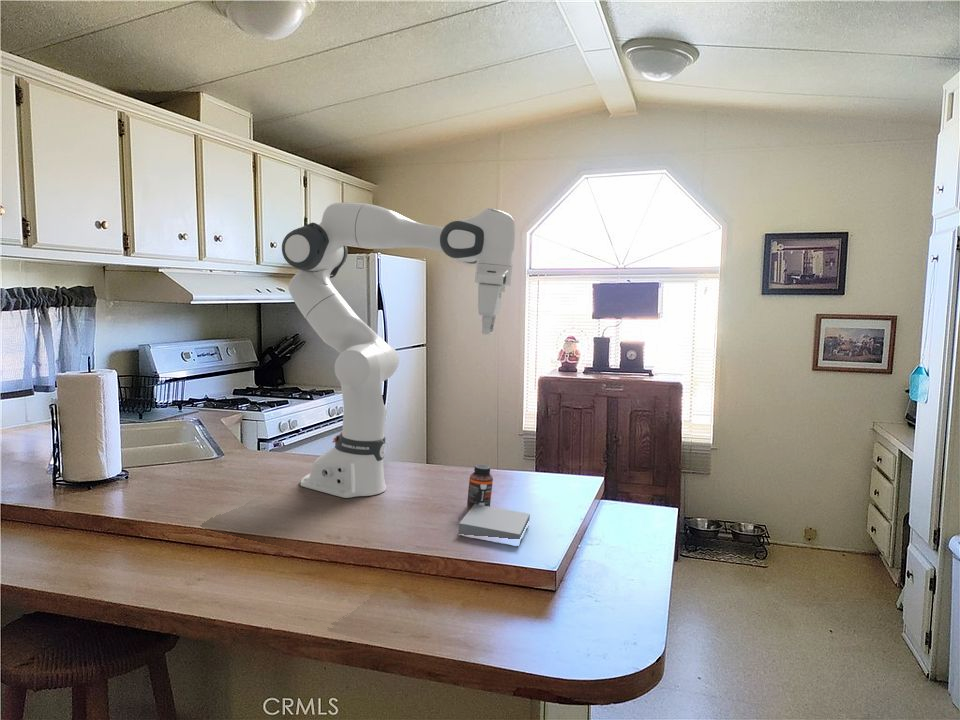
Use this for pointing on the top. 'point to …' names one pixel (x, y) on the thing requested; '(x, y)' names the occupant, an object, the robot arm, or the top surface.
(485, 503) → the supplement bottle
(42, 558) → the top surface
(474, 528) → the plinth
